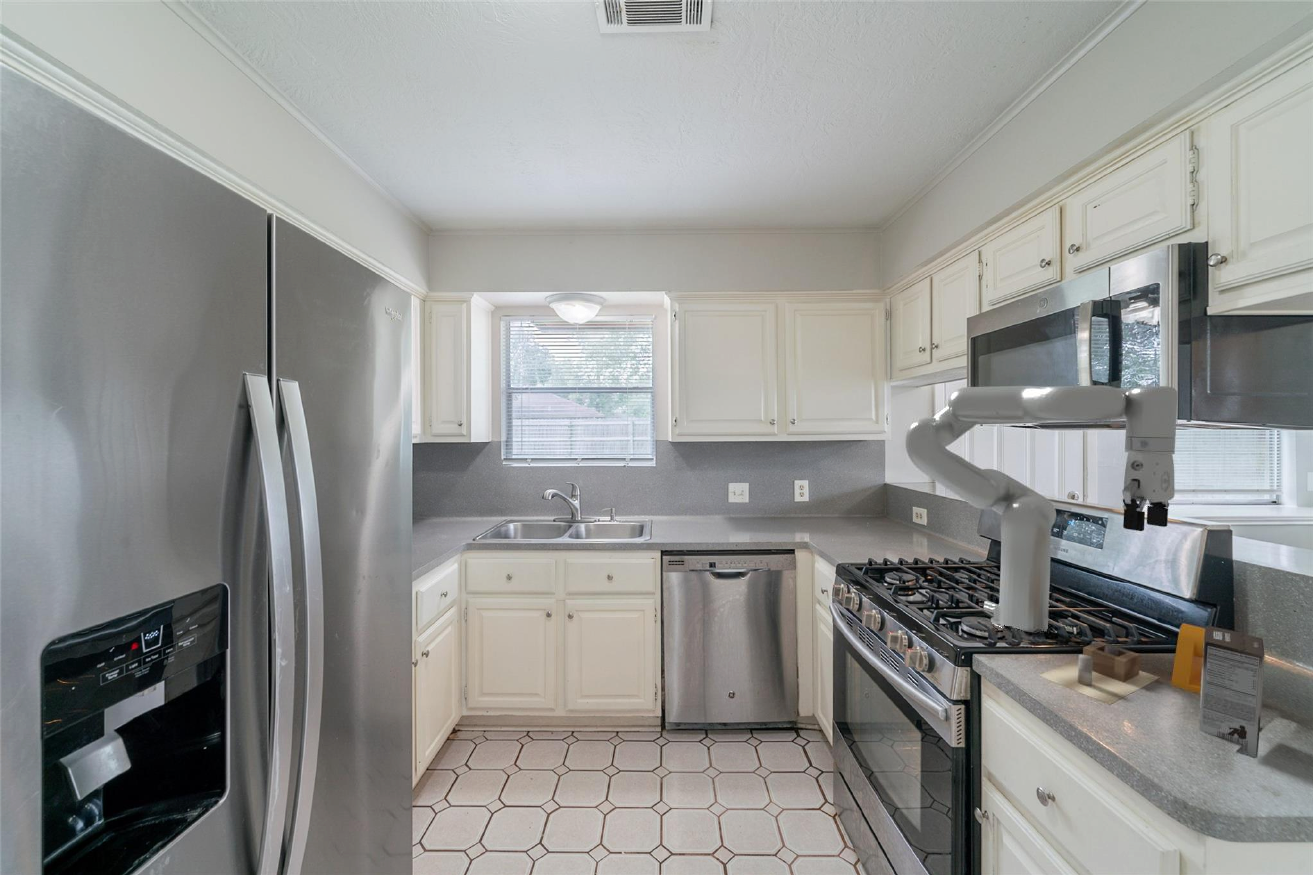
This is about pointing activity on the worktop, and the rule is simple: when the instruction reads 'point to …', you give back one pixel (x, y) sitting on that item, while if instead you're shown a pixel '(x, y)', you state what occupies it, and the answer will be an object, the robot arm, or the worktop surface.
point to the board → (1096, 679)
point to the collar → (1113, 662)
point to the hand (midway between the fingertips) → (1145, 527)
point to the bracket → (1189, 658)
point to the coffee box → (1232, 687)
